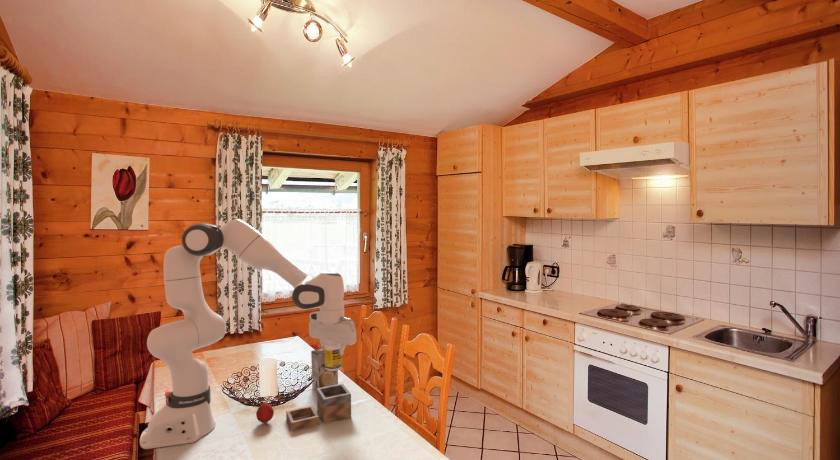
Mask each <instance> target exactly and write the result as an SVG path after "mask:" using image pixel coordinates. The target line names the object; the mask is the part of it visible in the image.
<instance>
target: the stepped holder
mask: <svg viewBox="0 0 840 460" xmlns="http://www.w3.org/2000/svg"><path fill="white" fill-rule="evenodd" d="M285 414H286V415H285V417H286V421H287V424H288V426H289V429H290V430H291V432H295V431H298V430H299V431H300V430H304V429H308V428H310V427H311V428H312V427H316V426H320V420H321V421H322V422H323V424H324V425H326V424H330V423H333V422H334V423H335V422H339V421H342V420H346V419H351V418H352V393H351V392H350V390H349V389H348V388H347V387H346V386H345V385H344V383H338V384H337V385H332V386H327V387H322V388H317V390H316V409H315V407H314V405H309V406H308V405H307V406H303V407H299V408H293V409H290V410H286V411H285ZM307 416H310V417H307ZM303 417H305V418H303ZM297 418H302V419H297ZM294 419H297V420H294Z"/></svg>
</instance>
